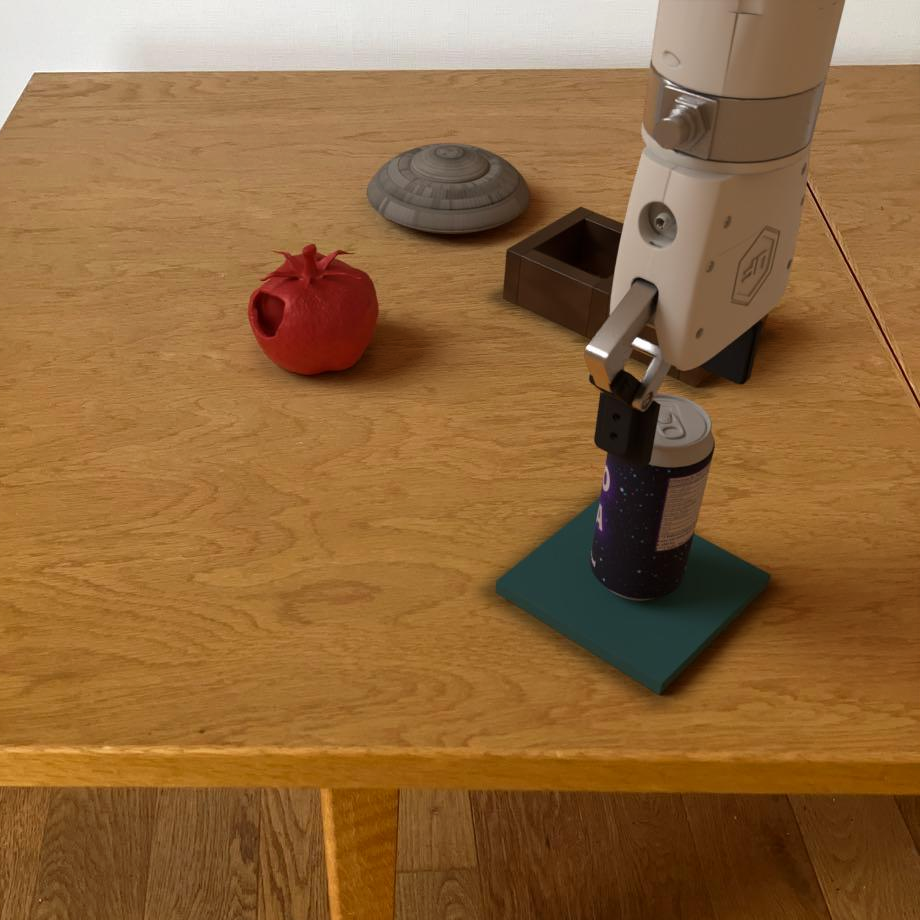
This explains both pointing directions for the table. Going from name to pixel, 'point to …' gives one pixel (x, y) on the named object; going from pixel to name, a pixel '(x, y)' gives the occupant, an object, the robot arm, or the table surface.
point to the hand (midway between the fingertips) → (673, 412)
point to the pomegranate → (314, 313)
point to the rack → (576, 278)
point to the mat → (632, 603)
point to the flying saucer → (448, 189)
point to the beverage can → (654, 506)
